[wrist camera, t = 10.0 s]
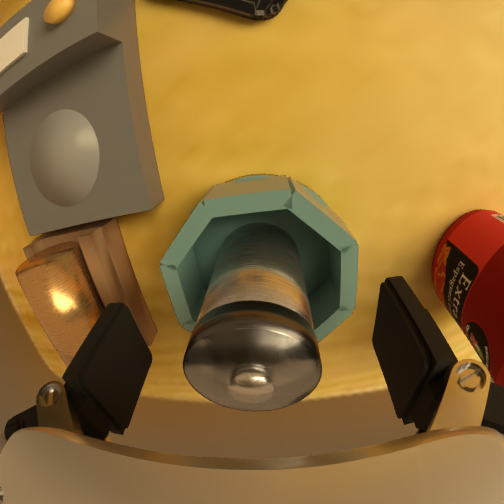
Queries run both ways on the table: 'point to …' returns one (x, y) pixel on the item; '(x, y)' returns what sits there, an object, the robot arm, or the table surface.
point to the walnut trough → (104, 266)
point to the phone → (245, 7)
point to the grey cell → (255, 325)
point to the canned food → (475, 283)
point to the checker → (76, 113)
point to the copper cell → (61, 296)
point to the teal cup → (276, 213)
